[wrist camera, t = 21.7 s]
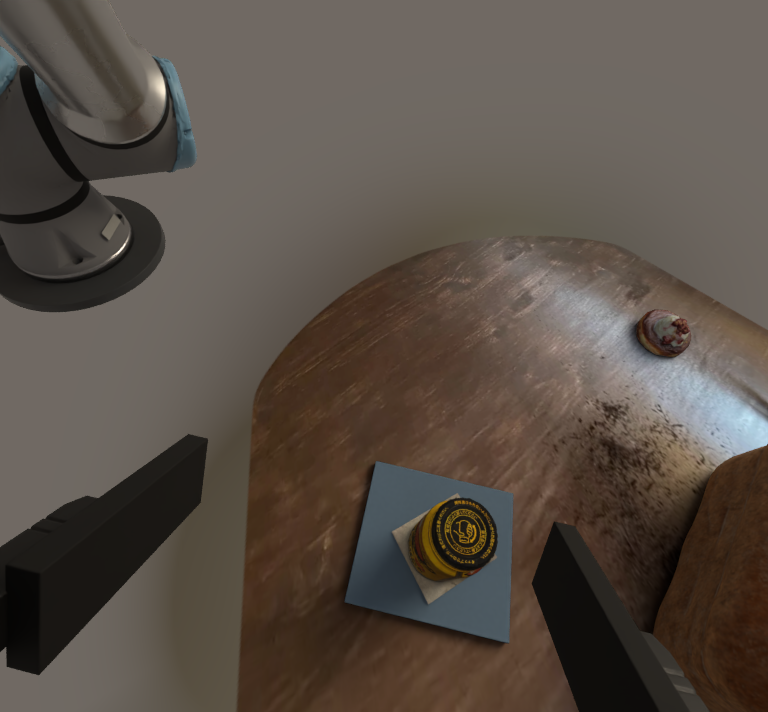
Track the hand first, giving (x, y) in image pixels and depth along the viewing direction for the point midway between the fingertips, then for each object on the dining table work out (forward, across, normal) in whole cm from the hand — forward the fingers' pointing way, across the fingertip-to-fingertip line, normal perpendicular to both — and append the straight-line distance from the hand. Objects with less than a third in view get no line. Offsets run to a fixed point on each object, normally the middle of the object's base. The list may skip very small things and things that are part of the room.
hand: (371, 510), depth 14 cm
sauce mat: (+23, +8, -18) cm, 31 cm away
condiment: (+23, +9, -18) cm, 30 cm away
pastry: (+49, +38, +7) cm, 62 cm away
